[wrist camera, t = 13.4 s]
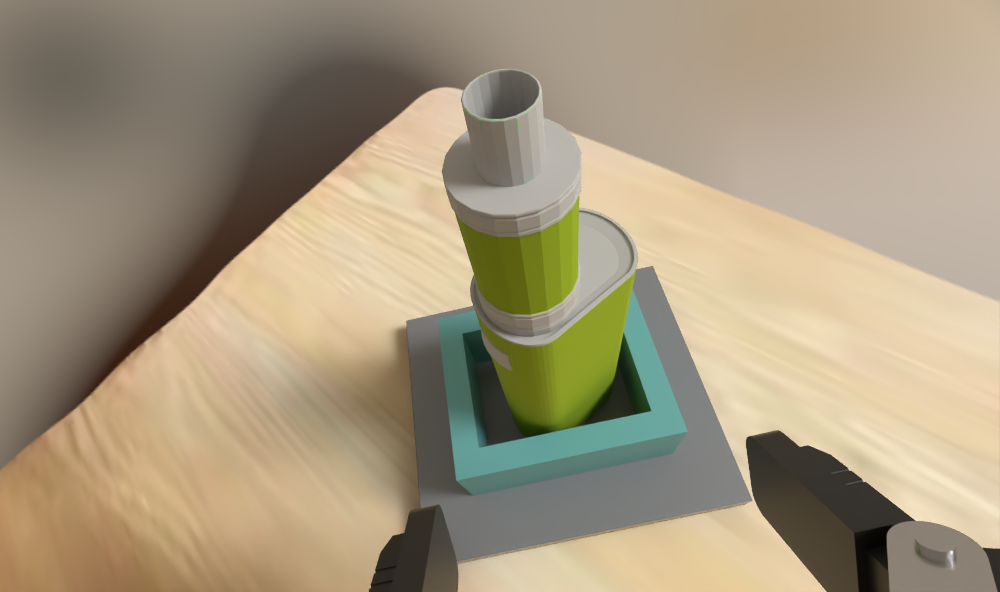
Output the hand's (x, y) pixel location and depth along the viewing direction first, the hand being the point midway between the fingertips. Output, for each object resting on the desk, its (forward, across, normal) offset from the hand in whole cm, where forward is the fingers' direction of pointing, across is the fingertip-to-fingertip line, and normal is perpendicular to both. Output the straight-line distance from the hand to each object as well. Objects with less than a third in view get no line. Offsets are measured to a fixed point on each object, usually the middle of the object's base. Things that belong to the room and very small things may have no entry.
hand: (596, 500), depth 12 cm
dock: (+15, 0, +4) cm, 16 cm away
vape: (+14, 0, +4) cm, 15 cm away
